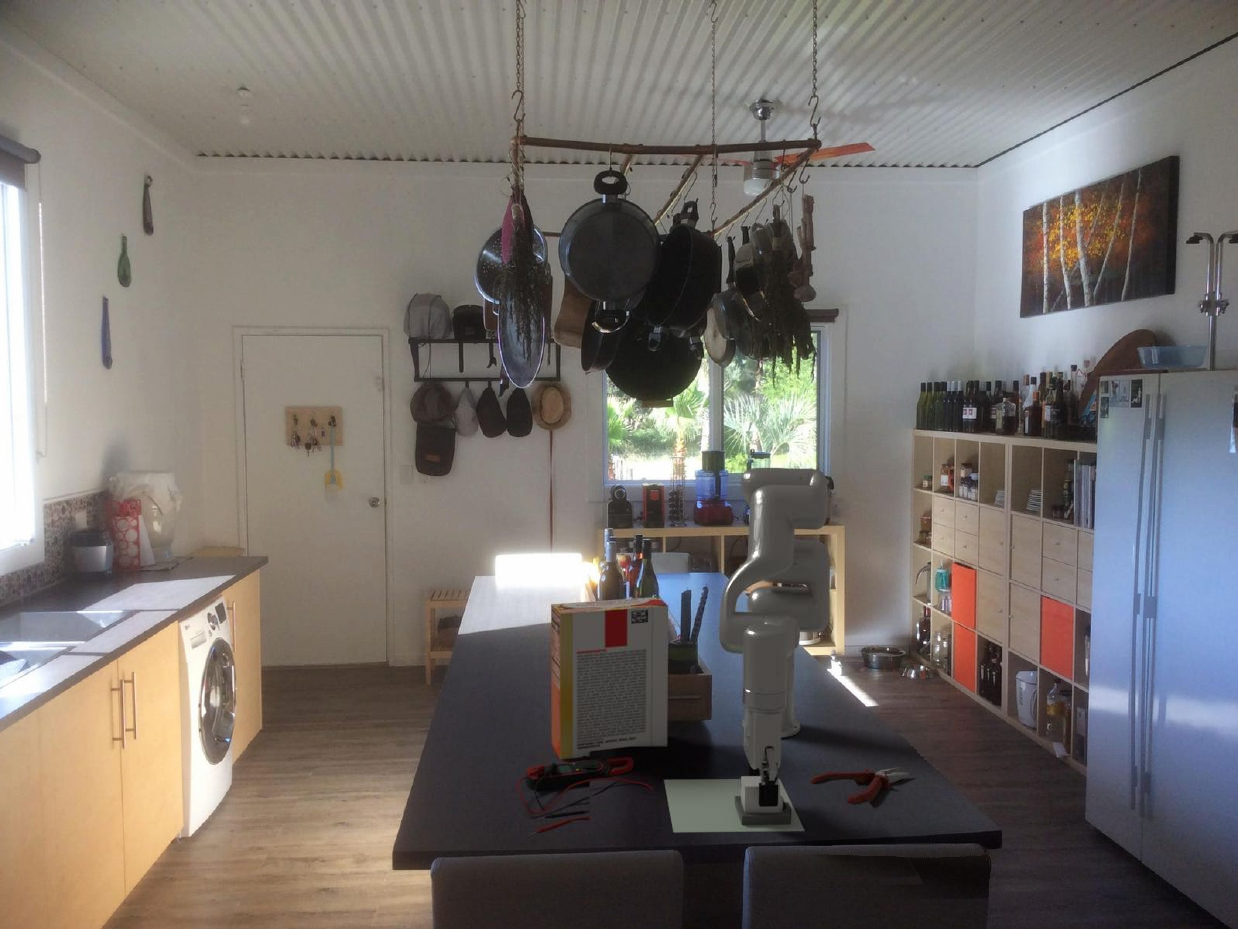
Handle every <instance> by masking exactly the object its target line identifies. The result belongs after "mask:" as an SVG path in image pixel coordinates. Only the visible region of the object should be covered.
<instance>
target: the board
mask: <svg viewBox="0 0 1238 929" xmlns="http://www.w3.org/2000/svg"><path fill="white" fill-rule="evenodd" d="M778 783H779V785H780V796H782V797H783V799H784V801H785V802H788V803H789V805H790V807H791V825H742V824H741V821H740V818H739V815H738V812H737V809H736V807H735V796H741V778H730V779H729V778H728V779H727V778H726V779H725V778H723V779H722V778H719V779H717V778H714V779H711V778H710V779H709V778H708V779H707V778H705V779H700V778H699V779H695V778H694V779H663V784H664V787H665V794H666V798H667V799H666V800H667V805H668V809H669V815H670V820H671V821H670V822H671V825H672V832H673V833H677V834H679V833H742V832H744V833H747V832H748V833H749V832H754V833H755V832H758V833H761V832H763V833H764V832H766V833H767V832H770V833H771V832H805V829H804V826H803V825H802V822H801V820H800V818H799V816H798V814H797V812H796V810H795V808H794V806H793V803H792V801H791V799H790V797H789V795H788V793H787V791H786V789H785V787H784V785H783V783H782V780H781V779H780V778H778ZM783 813H784V811H783Z"/></svg>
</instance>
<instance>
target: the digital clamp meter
mask: <svg viewBox="0 0 1238 929" xmlns="http://www.w3.org/2000/svg"><path fill="white" fill-rule="evenodd" d="M618 765H620V766H619V767H613V766H618ZM621 765H622V766H621ZM611 766H612V767H613V768H611ZM633 768H634V760H633V758H632V757H628V756H625V757H617V758H616V757H615V758H607V759H605V758H604V757H603V758H600V757H599V758H597V759H595V760H594V759H588V760H580V761H579V760H578V761H571V762H563V763H556V762H552V763H551V764H547V765H544V764H539V765H538V766H529V767H528V768H527V769H526V771H525V775H524V776H523V777H521V778H520V779H519V780H518V782H517V791H518V794H519V796H520V799H521V800H522V803H523V804H524V807H525V808H526V809H527V811H528V812H529V813H531V814H533V815H538V814H539V815H540V814H543V813H544V812H547V811H548V810H550V809H551V808H552V807H553V806H554V805H555V804H557V802H559V800H561V798H562V797H563V796H564V794H566V792H567V791H568V790H569V789H570V788H572V787H574V786H579V784H580V785H586V784H590V783H591V782H593V781H610V780H611V781H612V780H613V781H615V780H616V781H615V782H612V783H611V784H609V785H608V786H606V787H604V788H603V789H601V790H599V791H598V792H596V793H594V794H592V795H590V796H591V797H594V796H597V795H599V794H601V793H602V792H604V791H605V790H607V789H609V788H611V787H612V786H613V785H615V784H617V783H618V782H627V783H630V784H638V785H642V786H645V787H648V788H649V789H650V790H652V791H653V792H654V789H653V787H651V786H650V785H649V784H647V783H644V782H639V781H633V780H634V779H632V780H630V779H629V778H625V779H622V778H618V777H611V776H617V775H622V774H626V773H629V772H630V771H632V770H633ZM609 776H610V777H609ZM524 779H525V784H526V787H527V788H528V789H529V790H532V791H534V790H535V791H534V796H535V799H536V801H537V803H538V806H539V807H540V808H541V809H542V810H541V811H532V810H531V808H529V806H528V805H527V802H526V801H525V800H524V797H523V795H522V793H521V789H520V783H521V781H523V780H524ZM556 787H557V788H563V787H567V788H566V789H565V790H564V791H563V792H562V794H560V796H559V797H558V798H557V799H556V800H555V801H553V803H552V804H550V806H548V807H546V808H544V807H543V805H542V804H541V803H540V801H539V799H538V795H537V791H541V790H547V789H549V790H550V789H557V788H556ZM590 796H587V797H584V798H582V799H580V800H578V801H576V802H574V803H573V804H570V805H569V806H567V807H573V806H575V805H578V803H581V802H583V801H585V800H588V799H590ZM589 812H590V810H586V811H585V810H578V811H577V810H575V811H568V812H561V813H560V812H559V813H554V814H553V813H550V814H548V815H545V816H544V817H542V819H554V818H560V817H568V816H574V815H575V816H577V815H583V814H586V813H589ZM537 819H538V820H540V819H541V817H538V818H537ZM586 819H587V820H588V819H590V816H581V817H575V818H566V819H565V820H562V821H560V822H557V823H553V824H551V825H548V826H544V827H543V826H542V827H540V829H538V830H536V831H535V832H533V833H530V834H529V836H532V835H535V834H540V833H542V832H543V833H545V832H546V831H548V830H552V829H555V828H557V827H560V826H563V825H566V824H570V823H572V821H577V820H579V821H580V820H586Z"/></svg>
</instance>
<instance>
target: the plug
mask: <svg viewBox="0 0 1238 929" xmlns="http://www.w3.org/2000/svg"><path fill="white" fill-rule="evenodd" d="M740 779H741V805H742V808H743V811H744V813H783V799H782V797H781V796H780V785H779V783H778V806H776V807H760V806H759V783H761V779H760V776H748V775H747V776H745V775H743V776H741V777H740Z"/></svg>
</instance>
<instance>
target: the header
mask: <svg viewBox="0 0 1238 929" xmlns="http://www.w3.org/2000/svg"><path fill="white" fill-rule="evenodd" d="M781 797H782V796H781ZM782 799H783V797H782ZM735 807H736V809H737V812H738V815H739V818H740V821H741V824H742V825H791V807H790V805H789V803H788V802H785V801H784V799H783V811H784V813H744V811H743V808H742V805H741V796H735Z"/></svg>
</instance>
